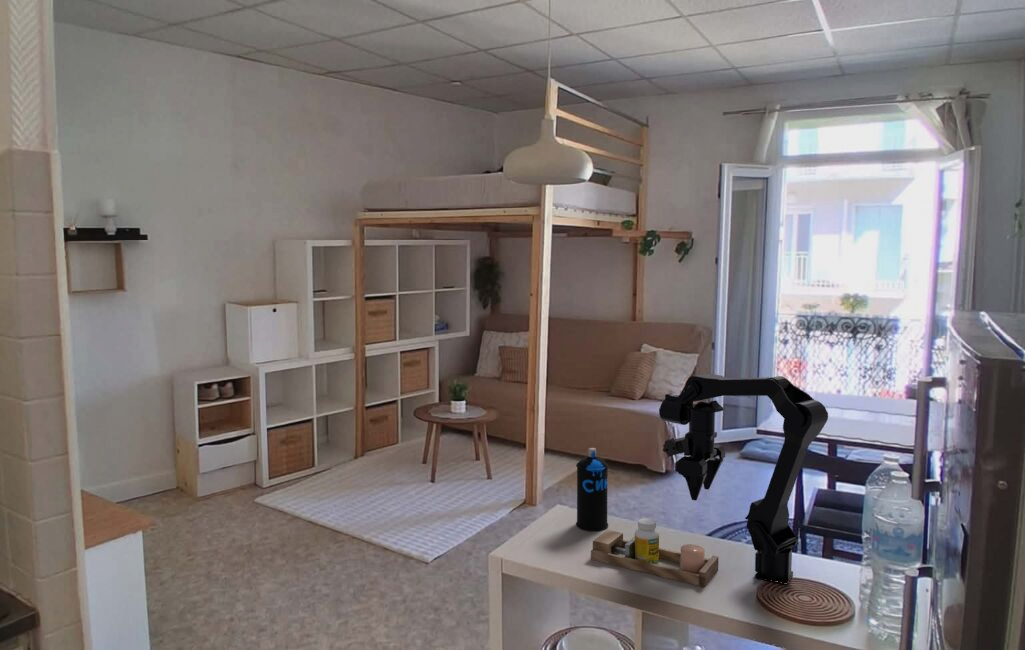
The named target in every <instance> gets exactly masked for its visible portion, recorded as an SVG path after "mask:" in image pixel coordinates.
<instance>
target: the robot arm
mask: <svg viewBox="0 0 1025 650" xmlns="http://www.w3.org/2000/svg"><path fill="white" fill-rule="evenodd" d="M723 396H724V397H725V396H727V397H728V396H729V397H731V396H733V397H736V396H737V397H739V396H740V397H742V396H743V397H746V396H747V397H749V396H750V397H751V396H753V397H754V396H755V397H756V396H758V397H760V396H761V397H763V396H765V397H767V398H769V399H770V401H771V403H772V404H773V406H774V408H775V410H776V412H777V413H778V414H779V415H780V416H781V417H782V418H783V424H782V430H783V434H784V435H783V437H784V441H783V444H782V447H781V450H780V452H779V455H778V457H777V461H776V463H775V467H774V470H773V471H772V476H771V478H770V481H769V484H768V486H767V489H766V491H765V495H764V497H763V498H760V499H758V500H755V501H752V502H751V503H750V505H749V511H748V513H747V515H746V516H745V518H744V519H745V520H747V521H746V529H747V530H748V533H749V536H750V539H751V541H752V546H753V549H754V551H756V552H755V554H754V555H755V558H754V560H755V561H754V571H755V572H756V573H755V575H754V577H755V578H756V579H760V580H764V581H768V580H772V581H778V582H782V583H788V582H790V581H789V580H791V579H792V577H793V576H794V571H792V567H793V566H792V563H793V561H792V560H793V547H796V546H797V543H798V541H799V537H798V536H797V533H795V532H794V530H793V529H792V527H791V526H790V525H789V519H790V511H789V506H788V504H789V501H790V497H791V496H792V493H793V489H794V488H795V484H796V482H797V479H798V476H799V473H800V472H801V471H800V470H801V468H802V466H803V462H804V460H805V457H806V453H808V452H807V451H808V449H809V446H810V445H811V444H812V443H813V442H814V440H815V439H816V438H817V437H818V436H819V435H820V434H821V431H823V429H824V426H825V425H826V423H827V422H828V420H829V419H828V418H829V412H828V410H827V409H826V406H825V405H823V403H822V402H820V401H819V400H816V399H814V398H813V397H812V396H811V395H810V394H809V393H808V392H805V391H804V390H802V389H801V388H799V387H797V386H796V385H794V384H793V383H792V382H791V381H790V380H789V379H787V378H786V377H784V376H782V375H779V376H773V377H771V376H770V377H769V376H768V377H766V376H765V377H736V378H735V377H733V378H732V377H726V376H724V375H719V374H714V373H703V374H698V375H692V376H689V377H688V378H687V380H686V381H685V386H684V387H683V389H682V391H680V393H679V394H676V393H671V392H670V393H665V395H664V400H663V401H662V402H661V404H660V407H659V408H658V414H659V418H660V419H661V420H662V421H663V422H667V423H672V424H677V425H681V426H685V425H688V432H686V433H685V435H684V436H683V437H678V438H670V439H666V440H665V441H664V443H663V444H662V446H663V448H662V451H663V452H664V453H666V456H667V458H670V457H673V456H675V455H680V454H683V457H681V458H679V459H678V460H677V461H676V462H675V463H674V465H675V466H674V468H675V469H674V471H675V472H677V473H678V475H680V476H682V477H683V478H684V479H685V481H686V485H687V488H688V491H689V495H690V498H691V501H697V500H698V498H699V496H700V493H701V491H702V487H703V489H704V490H710V488H711V486H712V484H713V482H714V479H715V478H716V476H717V473H718V472H719V469H720V467H721V465H722V464H723V462H724V459H725V458H726V448H725V447H724V446H723V445H722V444H715V438H717V437H718V432H717V431H715V429H716V428H715V422H716V420H715V419H716V413H720V412H722V411H723V412H724V410H725V409H724V407H723V406H722V405H721V404H720V403H719V402H718V401H717V399H716V400H710V401H709V402H706V401H705V400H709V399H713V398H719V397H723ZM698 401H699V402H698ZM694 402H697V403H694ZM772 581H771V582H772ZM788 584H789V583H788Z"/></svg>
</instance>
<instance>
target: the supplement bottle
mask: <svg viewBox="0 0 1025 650" xmlns="http://www.w3.org/2000/svg"><path fill="white" fill-rule="evenodd" d="M637 527H638V528H637V529H635V531H634V537H635V559H636V560H640V561H644V562H648V563H652V564H657V565H659V561H660V560H659V559H660V558H659V548H660V533H659V531H658V530H657V521H656V520H655V519H653V518H649V517H643V518H640V519H638V520H637Z"/></svg>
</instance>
